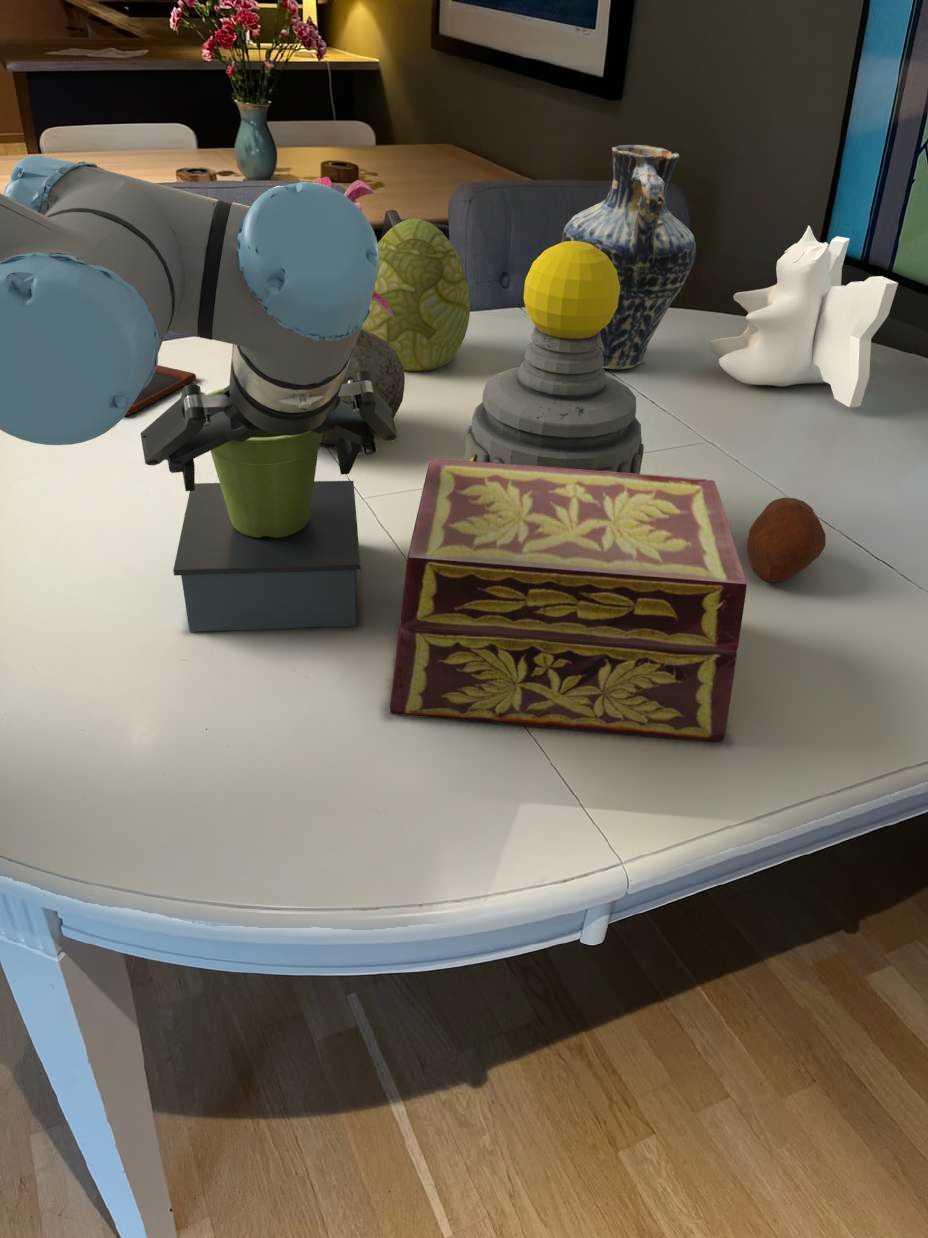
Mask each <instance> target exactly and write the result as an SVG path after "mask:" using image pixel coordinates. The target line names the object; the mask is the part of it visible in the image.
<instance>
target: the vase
mask: <svg viewBox="0 0 928 1238" xmlns="http://www.w3.org/2000/svg"><path fill="white" fill-rule="evenodd" d="M301 182H307V181H306V179H304V178H301ZM311 182H312V183H318V184H322V185H325V186H328V187H330V188H332V189H334V187H333V182H332V180H331V179H330V177H329V176H324V177H321V178H318V179H315V180H313V181H311ZM373 194H375V192H374V190H373V189H372V188H371V186H369V185H368V184H366V182H364V181H363V180H359V179H357V180H355V181H353V182H352V183H351V184H349V186H348V187H347V189H346V190H345V192H344V193H343V195H345V196H346V197H347V198H349V199H350V200H351V201H352V202H353V203H355V204H356V205H357V206H358V208H359V209H360V210H361V211H362V212H363V207H362V205H361V203H360V202H357V201H356V200H358V199H359V198H361V197H365V196H367V195H373ZM355 201H356V202H355ZM372 300H374V301H375V302H377V303H378V304H379V305H380V306H381V307H382V308H383V309H385V310H386V311H387V312H388V313H389V314H390V315H391V316H392V317H393V318H395V317H394V315H393V313H392V311H391V309H390V308H389V306H388V304H387V302H386V301H385V300H384V299H383V298H382V297H381V296H380V295H379V294H377V293H375V292H373V295H372ZM359 371H369V372H370V375H371V380H372V385H373V388H374V389H375V390H376V391H377V393H378V394H379V395H380V396H381V397H382V398H383V400H384V401H385V402H386V403H387V404H388V406H389V407H390V408H391V409H392V413H393V417H394V418H395V417H396V415H397V413H398V411H399V409H400V407H401V405H402V403H403V399H404V393H405V385H406V384H405V380H406V376H405V375H406V373H405V370H404V369H403V365H402V363H401V361H400V359H399V357H398V355H397V354H396V352H395V350H394V348H393V347H392V346H390V345H389V344H388V343H387V342H386V341H385V340H383V339H381V338H379V337H377V336H376V335H374V334H372V333H370V332H368V331H366V330H364V329H362V328H361V331H360V333H359V336H358V339H357V341H356V344H355V347H354V350H353V352H352V356H351V359H350V362H349V365H348V367H347V370H346V373H345V376H344V379H343V381H342V384H347V382H348V381H349V380H354V375H355V374H356V373H357V372H359ZM342 402H344V403H346V404H348V403H347V402H345V401H342ZM348 405H350V404H348ZM351 406H352V405H351ZM338 439H339V436H337V435H334V434H332V433H329V432H325V433H323V436H322V441H321V443H320V444H319V447H323V448H327V449H336V444H337V441H338Z"/></svg>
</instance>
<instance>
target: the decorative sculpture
mask: <svg viewBox="0 0 928 1238" xmlns="http://www.w3.org/2000/svg"><path fill="white" fill-rule="evenodd" d="M377 243H378V249H379V270H378V274H377V278H376V282H375V287H374V291H373V292H375V293H377V294H379V295H380V296H381V297H382V298H383V299H384V300H385V301H386V302H387V304H388V306H389V308H390V309H391V311H392V313H393V315H394V317H395V318H393V317H392V316H391V315H390V314H389V313H388V312H387V311H386V310H385V309H383V308H382V307H381V306H380V305H379V304H378V303H377V302H375V301H374V300H371V304H370V308H369V310H370V313H369V315H368V317H367V319H366V320H365V321H364V323H363V326H362V329H364V330H366V331H368V332H370V333H372V334H374V335H376V336H377V337H379V338H381V339H383V340H385V341H386V342H387V343H388V344H389V345H390V346H392V347H393V348H394V350H395V352H396V354H397V355H398V357H399V359H400V361H401V363H402V365H403V369H404V371H409V372H424V371H432V370H436V369H439V368H443V367H444V366H446V365H447V364H448V363H450V361H451V360H452V359H453V358H454V357H455V356H456V354H457V353H458V351H459V350H460V348H461V346H462V344H463V342H464V339H465V337H466V334H467V331H468V327H469V321H470V314H471V298H470V288H469V283H468V278H467V274H466V271H465V268H464V266H463V263H462V260H461V258H460V256H459V254H458V252H457V250H456V248H455V247H454V245H453V244H452V243H451V241H450V240H449V238H448V237H447V236H446V234H444V233H443V231H442V230H441V229H440V228H438V227H437V226H436V225H434V224H433V223H431V222H429V221H427V220H424V219H420V218H410V219H405V220H402V221H401V222H398V223H396V224H395V225H393V227H391V228H390V229H389V230H387V232H386V233H385V234H384V235H383V236H382V238H380V240H379V241H378V242H377Z"/></svg>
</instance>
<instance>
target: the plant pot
mask: <svg viewBox="0 0 928 1238" xmlns="http://www.w3.org/2000/svg"><path fill="white" fill-rule="evenodd" d="M225 388H226V387H222V388H219V389H216V390H214V391H211V392H209V393H207V394H206V395H221V394H222V392H223V390H224V389H225ZM242 425H243V426H244V424H242ZM322 436H323V434H318V433H315V432H313V431H309V432H306V433H303V434H299V435H291V436H285V435H277V434H273V433H266V434H264V433H259V434H257V435H255V436H253V437H251V438H249V439H247V440H245V441H243V442H239V441H234V440H231V441H229V442H227V443H225V444H223V445H221V446H219V447H217V448H215V449H213V450H211V451H210V454H211V458H212V461H213V464H214V469H215V471H216V474H217V478H218V481H219V482H218V483H220V485H221V489H222V492H223V496H224V499H225V503H226V506H227V510H228V513H229V516H230V520H231V523H232V525H233V527H234V528H235V529H236V530H238V531H239V532H240V533H242V534H245V535H247V536H251V537H255V538H260V537H263V536H269V537H274V538H281V537H285V536H289V535H292V534H294V533H296V532H298V531H300V530H301V529H303V528H304V527H305V526H306V524H307V523H308V520H309V517H310V510H311V502H312V494H313V487H314V481H315V480H316V479H315V478H316V470H317V469H316V468H317V464H318V457H319V456H318V455H319V448H320V445H319V444H320V443H321V441H322Z"/></svg>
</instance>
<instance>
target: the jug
mask: <svg viewBox="0 0 928 1238" xmlns="http://www.w3.org/2000/svg"><path fill="white" fill-rule="evenodd" d="M611 151H612V152H611V155H612V159H611V160H612V173H613V174H612V181H611V185H610V189H609V191H608V193H607V196H606V198H605V199H604V200H602V201H601V202H598V203H596V204H594V205H592V206H590V207H588V208H587V209H583V210H581V211H579V212H578V213H577V214H575V215H573V217H572V216H571V218H570V219H569V221H568V222H567V223H566V224H565V226H564V228H563V231H562V234H561V239H562V240H561V243H562V242H566V241H579V242H585V243H589V244H591V245H593V246H595V247H596V248H597V249H599V250H600V251H602V252H603V253H605V254H606V255H607V256H608V258H609V259H610V261H611V262H612V264H613V265H614V267H615V269H616V271H617V275H618V280H619V285H620V292H619V299H618V306H617V309H616V311H615V313H614V315H613V317H612V319H611V321H610V322H609V323H608V324H607V325H606V326H605V327H604V328H603V329H602V330H601V331H600V335H601V346H600V347H599V348H600V349H601V350H602V351H603V359H604V364H603V366H602V368H603V369H609V370H626V369H632V368H634V367H636V366H637V365H639V364H641V363H642V362H643V360H644V356H645V354H646V351H647V348H648V345H649V342H650V341H651V339H652V337H653V336H654V334H655V333H656V330H657V328H658V327H659V326H660V323H661V322H662V320H663V318H664V316H665V314H666V313H667V312H668V310H669V308H670V306H671V304H672V302H673V301H674V300H675V298H676V297H677V296H678V294H679V293H680V291H681V289H682V288H683V287H684V284H685V283H686V281H687V279H688V277H689V275H690V272H691V270H692V268H693V265H694V263H695V260H696V254H697V244H696V240H695V235H694V234H693V233H692V231H691V230H690V229H689V228H688V227H687V225H685V224H684V223H682V221H680V220H679V219H677V217H675V216H674V215H673V214H672V213H671V212H670V210H668V207H667V204H666V203H667V202H666V193H667V188H668V184H669V183H670V179H671V177H672V174H673V172H674V170H675V167H676V164H677V162H678V161H679V159H680V155H679V153H678V152H676V151H675V152H674V153H673V152H672V151H671V150H670V151H669V150H668V149H665V148H663V147H661V146H653V145H646V144H622V145H621V144H620V145H617V146H613V147H611Z"/></svg>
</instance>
